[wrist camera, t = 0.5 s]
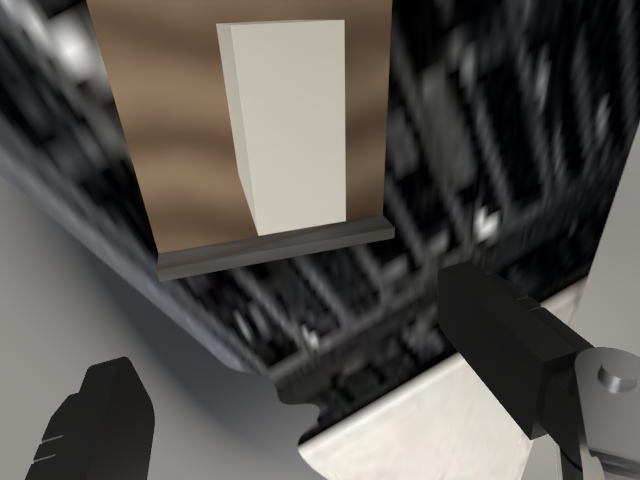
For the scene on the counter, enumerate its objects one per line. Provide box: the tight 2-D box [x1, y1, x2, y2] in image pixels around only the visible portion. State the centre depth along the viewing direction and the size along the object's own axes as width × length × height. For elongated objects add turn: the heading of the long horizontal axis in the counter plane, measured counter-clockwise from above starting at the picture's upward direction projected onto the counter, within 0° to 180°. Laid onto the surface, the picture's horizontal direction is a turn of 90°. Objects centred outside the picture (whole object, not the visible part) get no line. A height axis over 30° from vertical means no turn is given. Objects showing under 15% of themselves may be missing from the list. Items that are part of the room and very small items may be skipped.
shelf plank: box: [86, 0, 395, 282], centre depth 29 cm, size 18×19×4 cm
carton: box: [216, 20, 346, 236], centre depth 24 cm, size 5×10×10 cm, turn 3°
